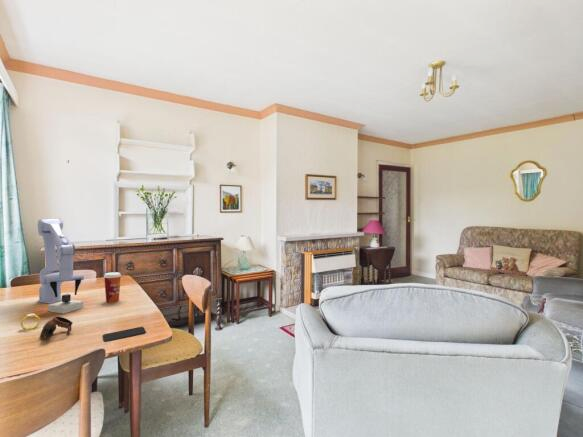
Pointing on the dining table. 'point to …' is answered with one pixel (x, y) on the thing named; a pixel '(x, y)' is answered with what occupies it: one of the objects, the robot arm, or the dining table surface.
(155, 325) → the dining table surface
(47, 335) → the brown curved piece
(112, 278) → the coffee cup
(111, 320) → the dining table surface
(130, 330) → the phone
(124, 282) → the dining table surface
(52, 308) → the block
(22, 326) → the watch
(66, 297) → the plunger
